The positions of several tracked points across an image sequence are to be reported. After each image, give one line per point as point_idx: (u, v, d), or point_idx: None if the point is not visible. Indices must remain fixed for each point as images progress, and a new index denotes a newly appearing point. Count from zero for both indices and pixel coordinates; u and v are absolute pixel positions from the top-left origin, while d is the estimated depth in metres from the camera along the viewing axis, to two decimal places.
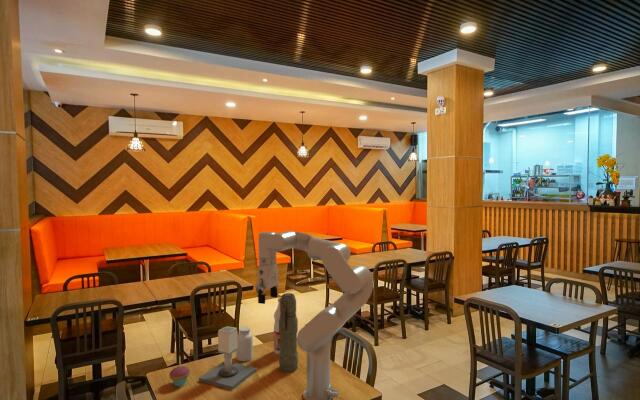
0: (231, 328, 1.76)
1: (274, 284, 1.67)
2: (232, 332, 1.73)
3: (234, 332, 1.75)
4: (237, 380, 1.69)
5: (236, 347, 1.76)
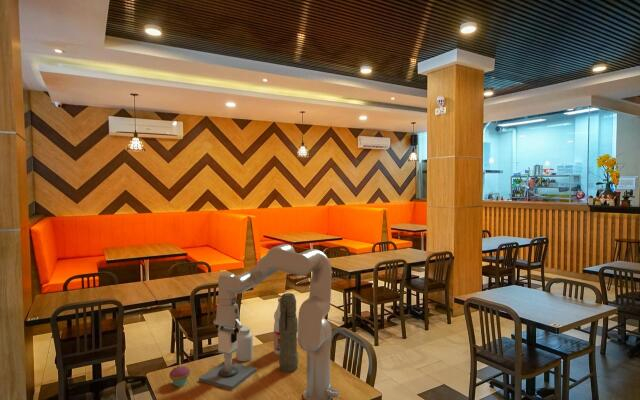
0: None
1: None
2: None
3: None
4: (237, 380, 1.69)
5: (236, 347, 1.76)
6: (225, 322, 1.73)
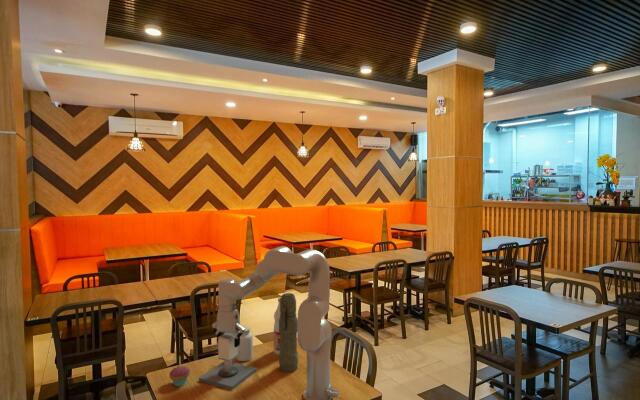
0: (232, 335, 1.76)
1: None
2: (232, 339, 1.74)
3: None
4: (237, 380, 1.69)
5: (236, 354, 1.76)
6: (225, 328, 1.73)
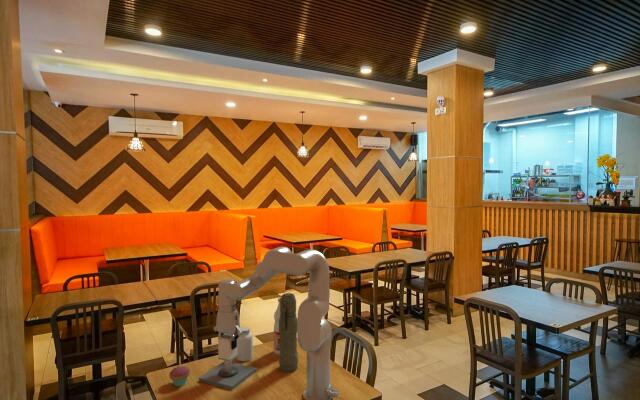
0: None
1: None
2: None
3: None
4: (237, 380, 1.69)
5: (236, 354, 1.76)
6: (225, 329, 1.73)
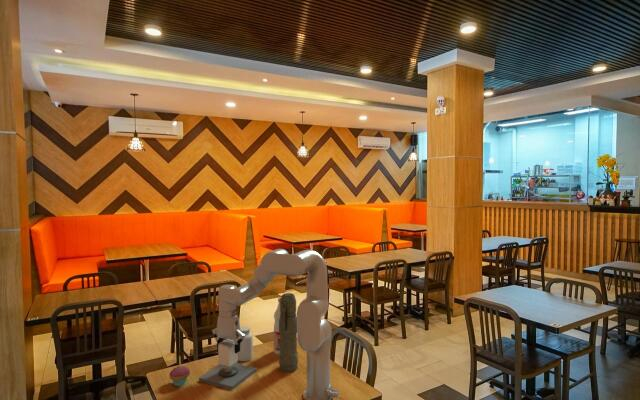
0: (232, 341, 1.76)
1: None
2: (232, 345, 1.74)
3: None
4: (237, 380, 1.69)
5: (236, 360, 1.77)
6: (226, 334, 1.73)
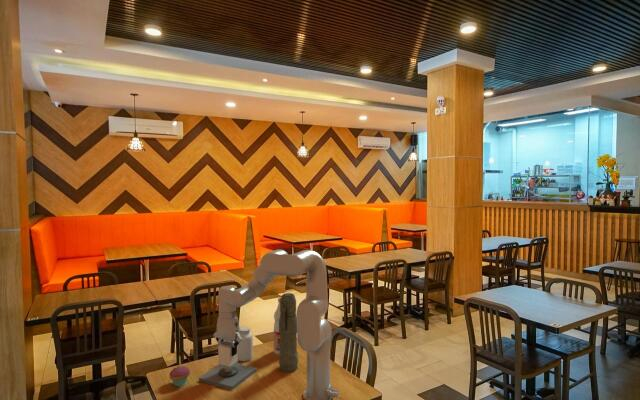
0: None
1: None
2: None
3: None
4: (237, 380, 1.69)
5: (236, 360, 1.77)
6: (225, 335, 1.73)
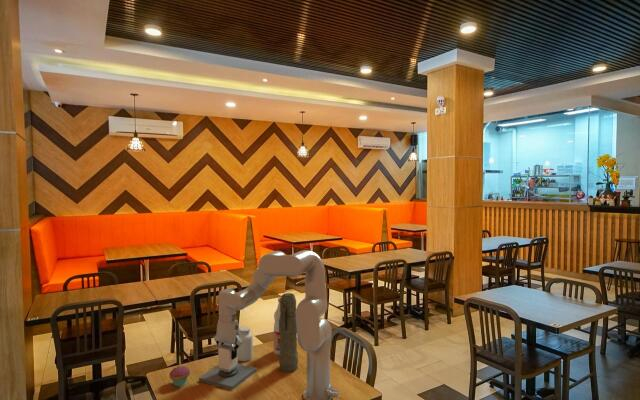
0: None
1: None
2: None
3: None
4: (237, 380, 1.69)
5: (236, 363, 1.77)
6: (225, 339, 1.73)
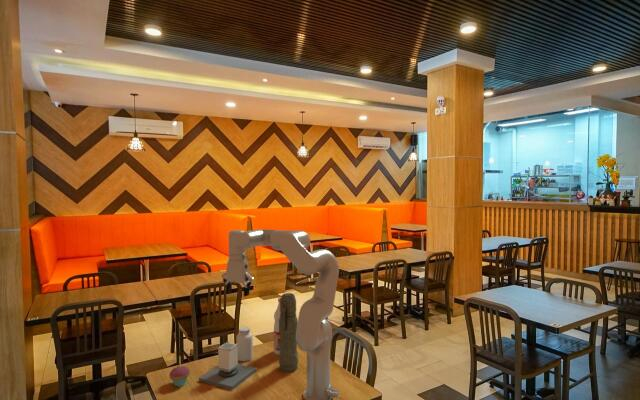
0: (232, 345, 1.76)
1: None
2: (232, 349, 1.74)
3: (234, 349, 1.75)
4: (237, 380, 1.69)
5: (236, 363, 1.77)
6: (235, 277, 1.76)
